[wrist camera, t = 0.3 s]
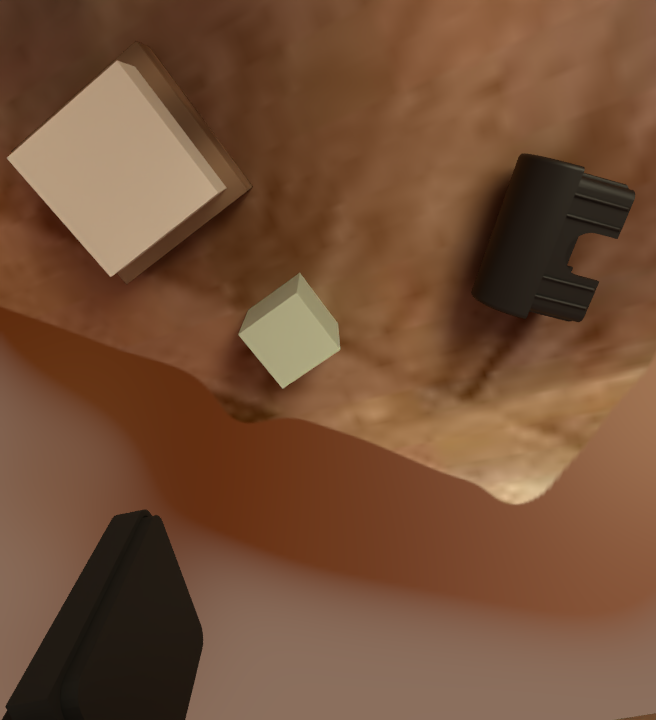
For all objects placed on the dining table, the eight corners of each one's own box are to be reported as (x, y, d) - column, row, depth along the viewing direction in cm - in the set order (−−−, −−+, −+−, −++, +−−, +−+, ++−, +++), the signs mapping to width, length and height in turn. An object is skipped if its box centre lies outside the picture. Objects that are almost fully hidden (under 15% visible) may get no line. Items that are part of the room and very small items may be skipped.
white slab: (33, 155, 39) (6, 157, 35) (135, 66, 37) (116, 60, 34) (127, 265, 41) (110, 277, 38) (226, 187, 39) (218, 192, 36)
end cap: (505, 150, 42) (538, 154, 35) (598, 176, 42) (646, 184, 36) (459, 284, 45) (482, 309, 39) (546, 306, 46) (582, 334, 40)
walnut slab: (35, 150, 42) (11, 151, 39) (151, 48, 40) (136, 40, 36) (140, 273, 45) (126, 284, 42) (253, 186, 43) (247, 190, 40)
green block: (248, 309, 46) (238, 334, 40) (299, 272, 45) (296, 292, 39) (287, 358, 47) (282, 388, 42) (338, 323, 46) (340, 349, 41)
